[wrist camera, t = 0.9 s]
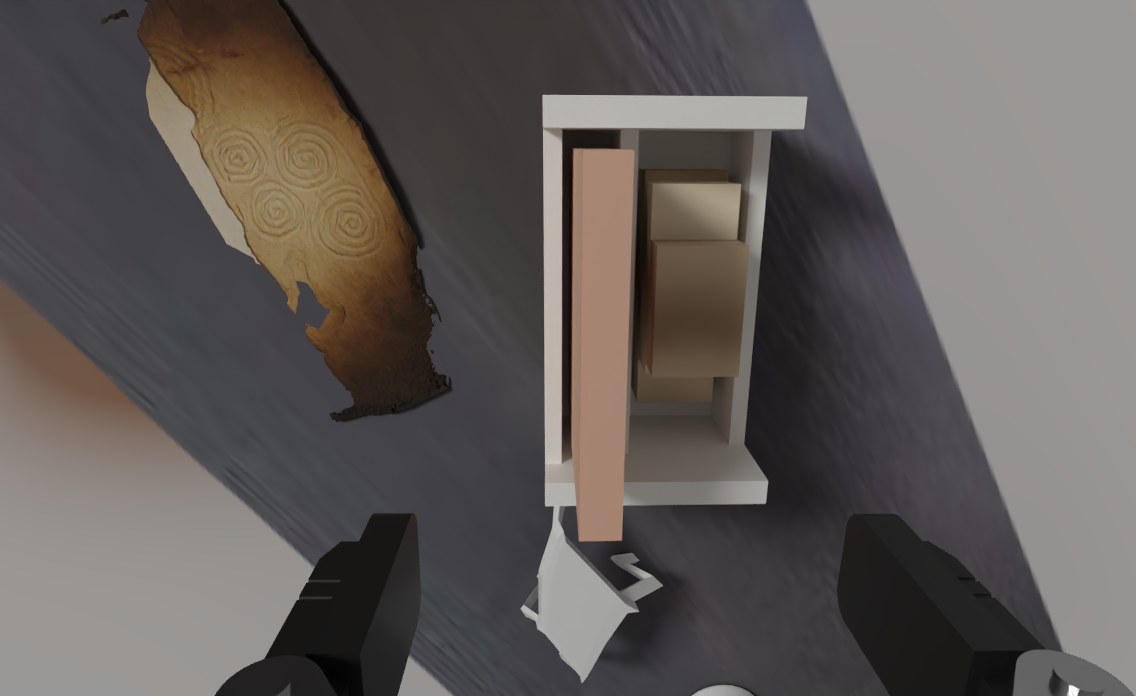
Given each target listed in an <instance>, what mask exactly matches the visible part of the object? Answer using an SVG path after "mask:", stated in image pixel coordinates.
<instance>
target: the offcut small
mask: <svg viewBox="0 0 1136 696" xmlns="http://www.w3.org/2000/svg"><path fill="white" fill-rule="evenodd" d="M748 257H749V245H747V244H745V243H743V242H741V241H739V240H651V243H650V268H649V293H648V318H647V343H646V365H647V368H648V370H649V372H650V374H651V377H739V365H740V353H741V341H742V329H743V317H744V305H745V293H746V281H747V269H748Z"/></svg>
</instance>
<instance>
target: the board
mask: <svg viewBox="0 0 1136 696" xmlns="http://www.w3.org/2000/svg"><path fill="white" fill-rule="evenodd" d="M633 179H634V150H626V149H606V148H570V155H569V352H568V406H569V419H570V432H571V444H572V457H573V470H574V482H575V495H576V508H577V521H578V533H579V541H622V522H623V491H624V460H625V429H626V398H627V366H628V335H629V304H630V273H631V242H632V210H633Z"/></svg>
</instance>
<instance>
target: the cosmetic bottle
mask: <svg viewBox="0 0 1136 696" xmlns="http://www.w3.org/2000/svg"><path fill="white" fill-rule="evenodd" d="M692 696H754V695H753V694H752V693H750V692H749V691H747V690H745V689H743V688H740V687H737V686H733V685H715V686H711V687H707V688H704V689H702V690H700V691H698V692H696V693H695V694H693V695H692Z"/></svg>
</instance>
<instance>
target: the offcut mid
mask: <svg viewBox="0 0 1136 696" xmlns="http://www.w3.org/2000/svg"><path fill="white" fill-rule="evenodd" d="M740 194H741V184H739V183H734V182H729V181H645V199H644V226H643V253H642V280H641V307H640V334H639V360H640V362H641V365H642V367H643V369H644V372H645V373H650V372H649V370H648V368H647V365H646V343H647V318H648V293H649V268H650V243H651V240H737V232H738V220H739V207H740Z"/></svg>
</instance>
